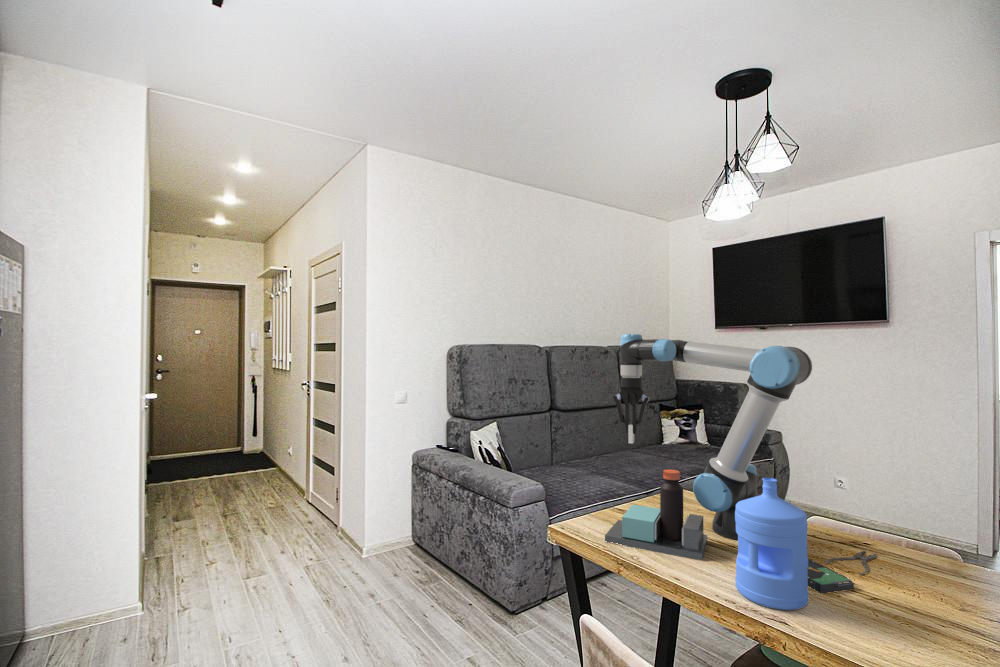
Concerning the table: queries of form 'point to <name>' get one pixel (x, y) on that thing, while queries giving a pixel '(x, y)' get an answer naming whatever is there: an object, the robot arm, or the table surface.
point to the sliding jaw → (641, 523)
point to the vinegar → (671, 506)
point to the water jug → (772, 550)
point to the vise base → (685, 547)
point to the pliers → (858, 556)
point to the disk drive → (826, 579)
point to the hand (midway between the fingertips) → (631, 442)
